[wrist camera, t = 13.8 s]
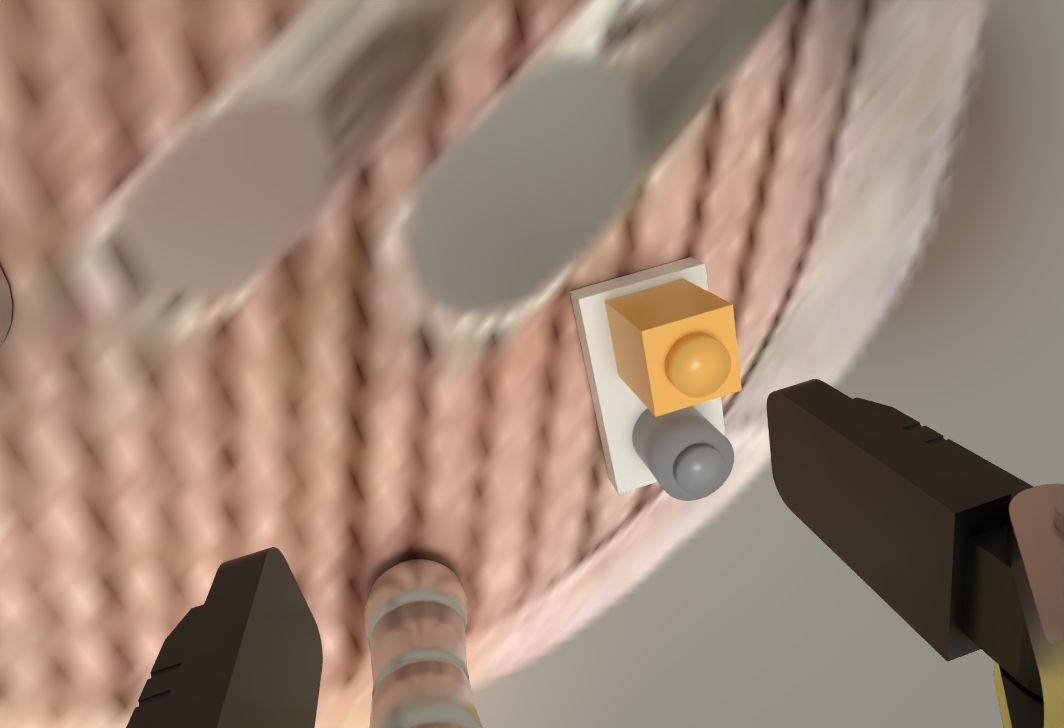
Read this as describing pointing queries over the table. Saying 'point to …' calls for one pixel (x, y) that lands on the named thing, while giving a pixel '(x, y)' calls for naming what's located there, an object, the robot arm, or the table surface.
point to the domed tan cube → (674, 345)
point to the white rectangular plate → (607, 389)
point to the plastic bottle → (419, 648)
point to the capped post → (683, 452)
